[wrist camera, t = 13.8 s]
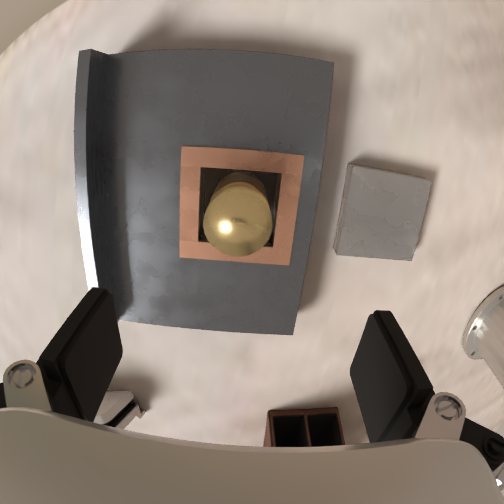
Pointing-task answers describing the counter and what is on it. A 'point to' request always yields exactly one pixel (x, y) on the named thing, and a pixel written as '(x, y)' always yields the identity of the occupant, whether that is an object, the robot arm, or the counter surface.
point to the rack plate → (196, 180)
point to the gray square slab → (380, 213)
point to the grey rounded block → (118, 409)
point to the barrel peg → (238, 215)
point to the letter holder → (303, 428)
